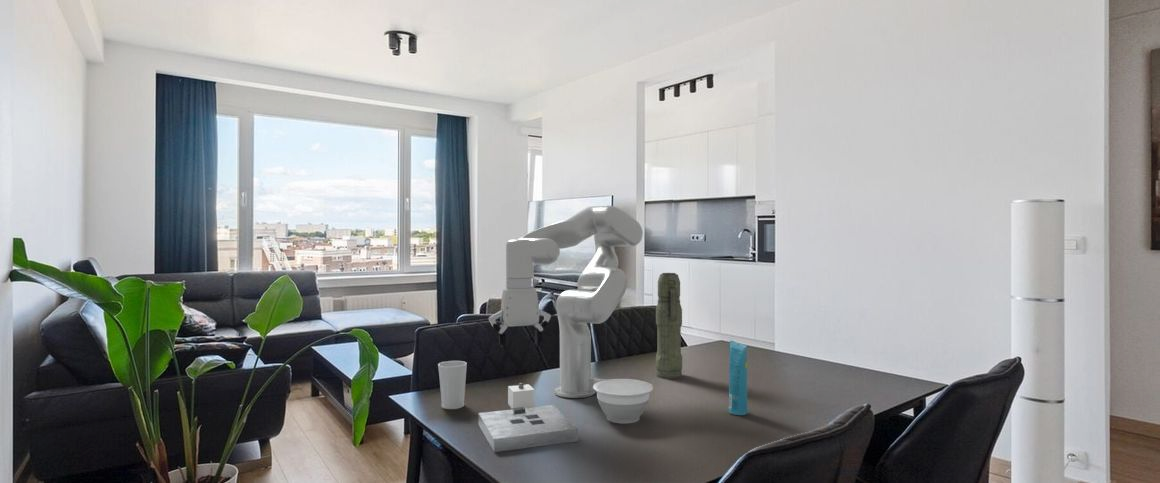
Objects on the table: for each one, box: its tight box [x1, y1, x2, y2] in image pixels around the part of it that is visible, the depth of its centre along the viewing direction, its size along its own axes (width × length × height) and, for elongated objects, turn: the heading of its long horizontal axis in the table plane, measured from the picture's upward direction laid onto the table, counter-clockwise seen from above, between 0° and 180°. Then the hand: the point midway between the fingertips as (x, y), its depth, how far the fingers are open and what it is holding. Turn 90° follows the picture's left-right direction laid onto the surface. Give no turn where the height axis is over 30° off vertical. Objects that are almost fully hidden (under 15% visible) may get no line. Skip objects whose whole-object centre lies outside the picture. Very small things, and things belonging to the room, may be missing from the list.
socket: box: [478, 404, 579, 453], centre depth 146 cm, size 20×20×4 cm
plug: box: [507, 382, 536, 410], centre depth 163 cm, size 6×6×8 cm
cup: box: [437, 360, 468, 410], centre depth 168 cm, size 8×8×12 cm
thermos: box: [655, 272, 683, 380], centre depth 201 cm, size 9×12×35 cm
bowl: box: [593, 378, 654, 424], centre depth 157 cm, size 16×16×8 cm
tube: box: [728, 339, 748, 416], centre depth 160 cm, size 7×5×19 cm, turn 26°
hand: (520, 346), depth 162 cm, fingers open, 9 cm apart
